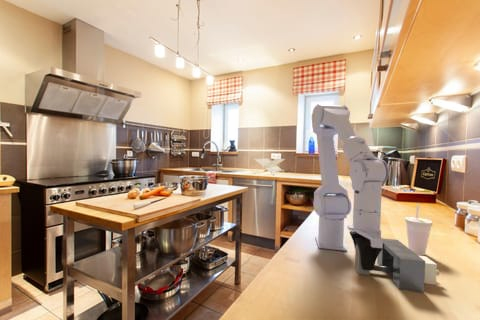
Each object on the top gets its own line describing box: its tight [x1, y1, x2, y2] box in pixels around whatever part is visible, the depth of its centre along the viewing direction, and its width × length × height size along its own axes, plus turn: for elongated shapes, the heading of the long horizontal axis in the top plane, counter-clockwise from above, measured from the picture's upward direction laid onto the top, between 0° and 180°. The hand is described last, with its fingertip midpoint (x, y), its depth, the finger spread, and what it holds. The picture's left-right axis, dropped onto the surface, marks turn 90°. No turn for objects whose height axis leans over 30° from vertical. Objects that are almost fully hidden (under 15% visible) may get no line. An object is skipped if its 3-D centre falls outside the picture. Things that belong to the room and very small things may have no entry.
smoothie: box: [404, 204, 433, 256], centre depth 65 cm, size 6×6×14 cm
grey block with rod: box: [354, 244, 440, 285], centre depth 52 cm, size 4×16×6 cm, turn 77°
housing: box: [376, 237, 425, 293], centre depth 52 cm, size 12×4×6 cm, turn 168°
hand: (364, 265), depth 54 cm, fingers closed on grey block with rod, 3 cm apart
